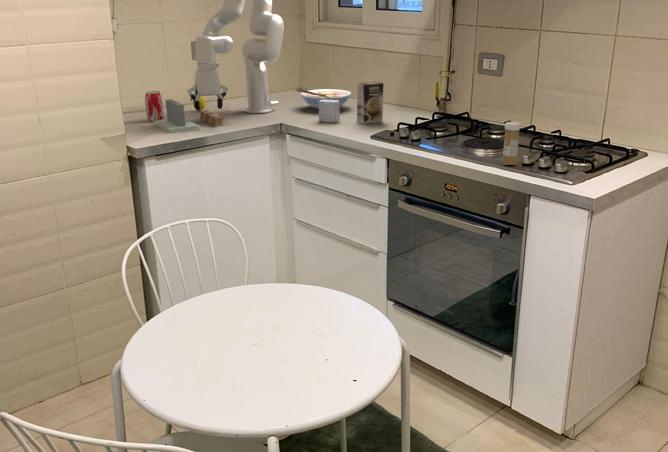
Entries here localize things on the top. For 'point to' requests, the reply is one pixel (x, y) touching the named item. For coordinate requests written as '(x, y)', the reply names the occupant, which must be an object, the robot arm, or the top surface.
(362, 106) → the coffee box
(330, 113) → the medicine box
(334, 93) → the ramen bowl
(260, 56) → the robot arm
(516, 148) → the sprinkles bottle
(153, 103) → the soda can
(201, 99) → the lemon
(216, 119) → the walnut bar
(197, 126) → the stand
